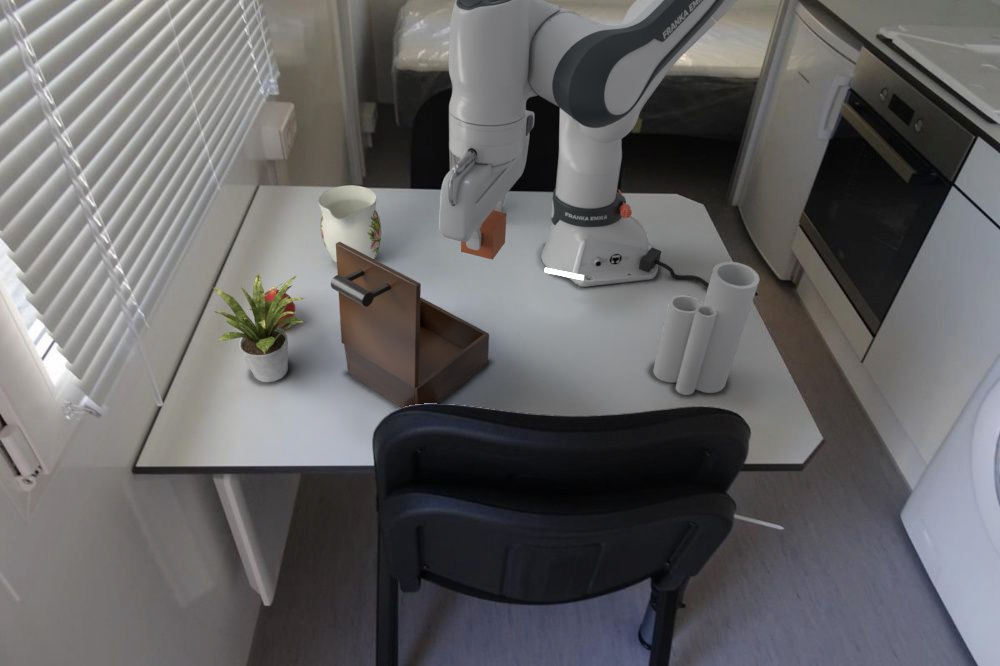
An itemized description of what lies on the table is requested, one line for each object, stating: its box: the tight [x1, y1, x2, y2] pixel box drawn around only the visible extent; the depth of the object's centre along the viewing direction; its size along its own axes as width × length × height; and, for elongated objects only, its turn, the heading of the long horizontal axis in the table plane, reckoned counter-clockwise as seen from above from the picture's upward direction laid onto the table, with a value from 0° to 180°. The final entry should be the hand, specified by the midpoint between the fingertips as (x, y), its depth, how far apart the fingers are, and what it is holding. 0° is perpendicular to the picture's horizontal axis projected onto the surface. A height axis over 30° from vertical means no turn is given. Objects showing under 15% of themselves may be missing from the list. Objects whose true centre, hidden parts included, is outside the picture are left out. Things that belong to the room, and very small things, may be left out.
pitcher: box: [317, 184, 382, 264], centre depth 130 cm, size 11×18×14 cm, turn 0°
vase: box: [652, 261, 760, 396], centre depth 105 cm, size 11×7×20 cm, turn 91°
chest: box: [343, 296, 490, 408], centre depth 109 cm, size 16×15×6 cm
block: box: [460, 210, 508, 260], centre depth 91 cm, size 4×4×4 cm
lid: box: [330, 242, 422, 388], centre depth 95 cm, size 17×15×6 cm
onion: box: [264, 286, 296, 328], centre depth 116 cm, size 6×6×8 cm
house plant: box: [212, 272, 307, 383], centre depth 104 cm, size 14×14×16 cm
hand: (483, 235), depth 91 cm, fingers closed on block, 4 cm apart
